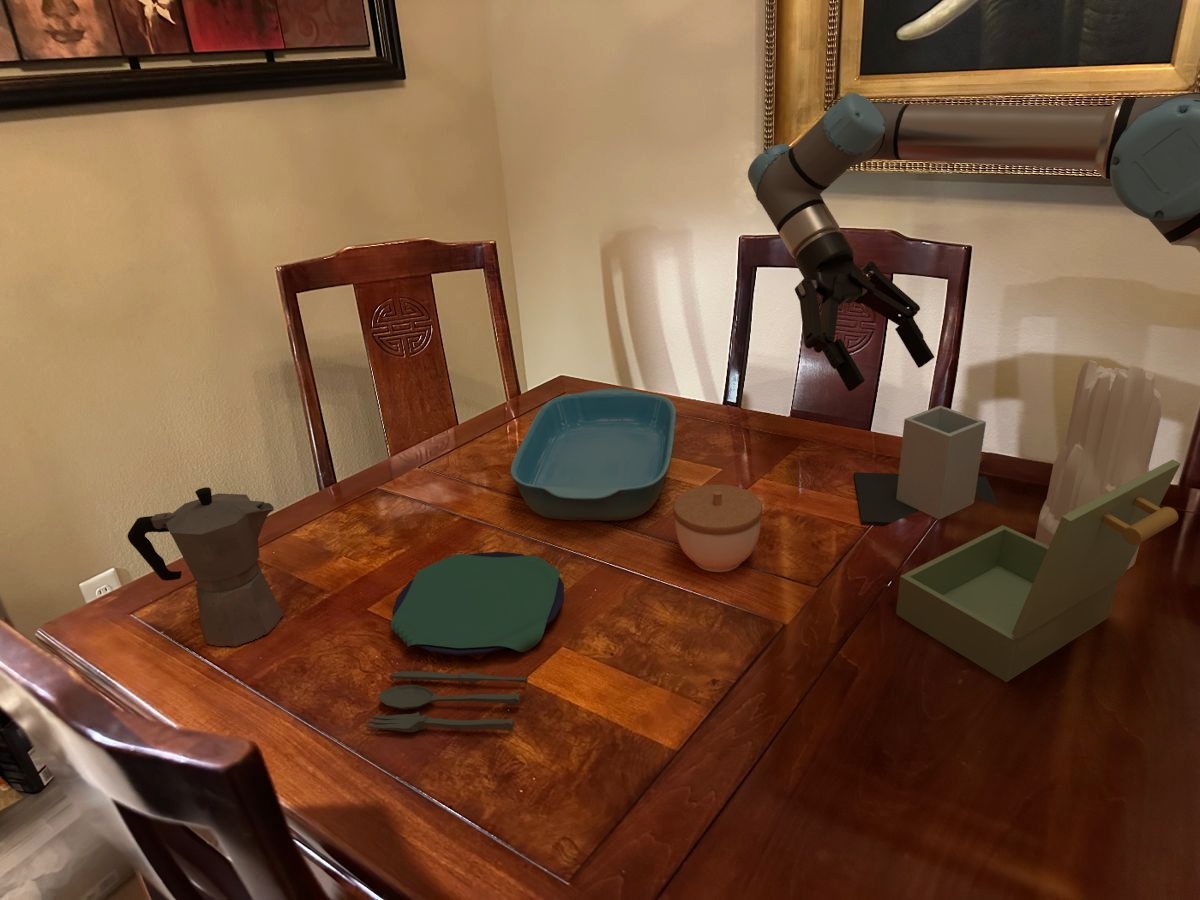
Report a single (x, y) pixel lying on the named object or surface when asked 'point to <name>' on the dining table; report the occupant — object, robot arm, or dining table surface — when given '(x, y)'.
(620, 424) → the casserole dish
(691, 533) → the trinket box
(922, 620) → the green open box
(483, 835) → the dining table surface
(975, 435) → the container
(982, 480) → the mat
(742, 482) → the dining table surface
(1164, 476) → the lid
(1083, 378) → the decorative vase
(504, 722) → the cutlery set
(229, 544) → the coffeepot
